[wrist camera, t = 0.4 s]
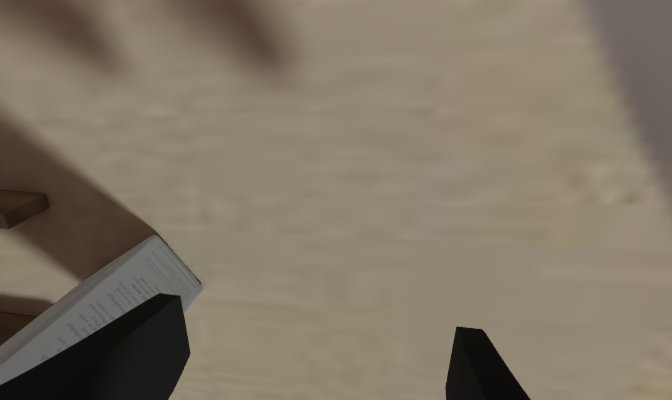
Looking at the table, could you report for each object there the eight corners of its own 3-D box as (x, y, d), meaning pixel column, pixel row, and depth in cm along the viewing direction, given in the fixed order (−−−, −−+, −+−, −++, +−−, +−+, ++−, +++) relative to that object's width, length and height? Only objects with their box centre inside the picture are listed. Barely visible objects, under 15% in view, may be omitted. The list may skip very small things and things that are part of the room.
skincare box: (139, 325, 24) (-71, 571, 14) (86, 272, 23) (-191, 493, 12) (210, 285, 22) (30, 536, 11) (155, 224, 21) (-104, 438, 10)
